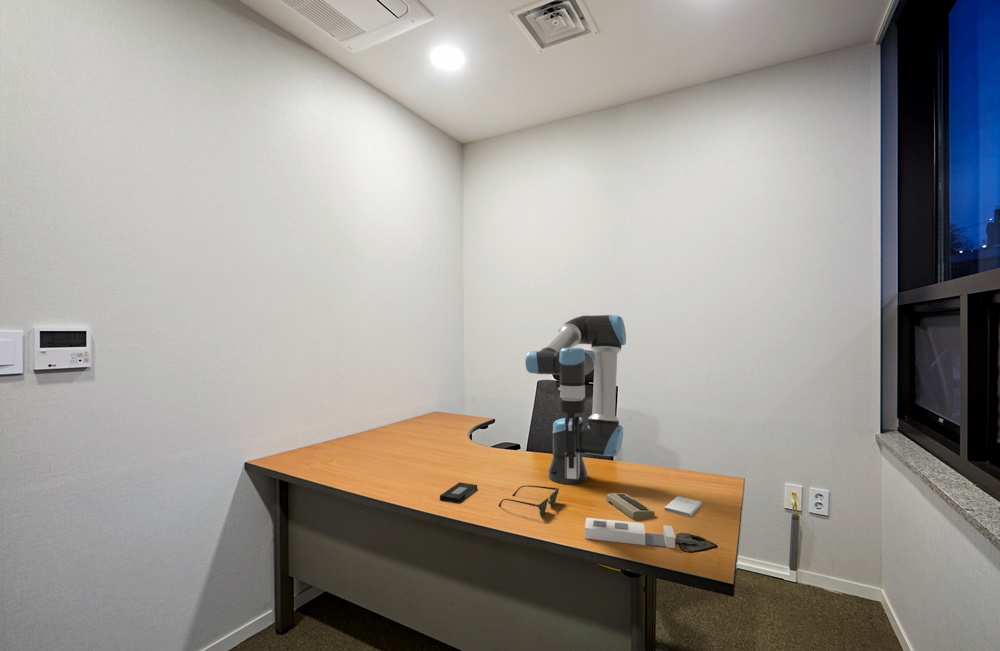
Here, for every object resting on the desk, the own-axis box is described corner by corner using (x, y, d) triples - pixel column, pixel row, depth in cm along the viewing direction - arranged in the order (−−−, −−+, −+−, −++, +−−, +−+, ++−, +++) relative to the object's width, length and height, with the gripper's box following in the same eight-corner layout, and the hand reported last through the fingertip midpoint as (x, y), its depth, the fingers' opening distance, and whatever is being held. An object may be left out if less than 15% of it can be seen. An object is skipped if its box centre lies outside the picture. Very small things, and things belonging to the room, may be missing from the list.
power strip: (586, 527, 136) (586, 517, 136) (694, 538, 129) (694, 527, 129) (584, 538, 130) (584, 527, 130) (699, 551, 122) (699, 539, 122)
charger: (566, 474, 141) (566, 450, 141) (579, 475, 140) (579, 451, 140) (564, 478, 138) (564, 454, 138) (578, 479, 137) (578, 455, 136)
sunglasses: (516, 493, 165) (515, 479, 165) (560, 502, 156) (560, 487, 156) (493, 510, 150) (493, 495, 150) (540, 520, 142) (540, 504, 142)
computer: (655, 518, 144) (655, 507, 144) (633, 521, 141) (633, 511, 141) (626, 499, 159) (626, 490, 159) (606, 502, 156) (606, 493, 156)
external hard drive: (664, 512, 149) (676, 500, 158) (690, 518, 143) (701, 506, 153) (664, 507, 149) (676, 495, 158) (690, 513, 143) (701, 501, 153)
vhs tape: (477, 490, 169) (477, 485, 169) (459, 504, 155) (459, 498, 155) (459, 487, 172) (459, 482, 171) (439, 501, 158) (439, 495, 158)
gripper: (563, 394, 148) (563, 466, 148) (555, 403, 132) (556, 484, 132) (586, 394, 146) (587, 468, 146) (582, 404, 130) (582, 486, 130)
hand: (572, 475), depth 139 cm, fingers closed on charger, 4 cm apart
